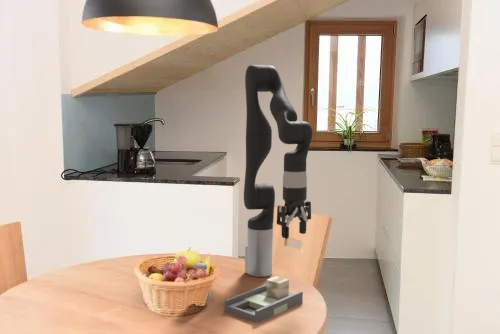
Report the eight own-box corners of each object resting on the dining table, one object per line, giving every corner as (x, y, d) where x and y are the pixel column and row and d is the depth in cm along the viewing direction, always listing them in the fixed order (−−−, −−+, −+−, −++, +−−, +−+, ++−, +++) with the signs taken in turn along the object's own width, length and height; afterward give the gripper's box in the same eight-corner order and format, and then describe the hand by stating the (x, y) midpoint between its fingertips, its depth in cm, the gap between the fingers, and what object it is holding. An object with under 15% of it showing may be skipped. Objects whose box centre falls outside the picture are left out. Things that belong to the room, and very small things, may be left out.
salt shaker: (206, 308, 165) (206, 267, 163) (188, 306, 166) (188, 265, 165) (211, 301, 171) (211, 261, 169) (193, 300, 172) (194, 260, 170)
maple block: (266, 295, 171) (266, 279, 171) (276, 291, 175) (276, 276, 175) (278, 299, 168) (279, 283, 168) (288, 294, 172) (288, 279, 171)
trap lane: (224, 311, 163) (224, 300, 163) (270, 292, 180) (270, 282, 179) (257, 323, 155) (257, 311, 154) (302, 302, 171) (302, 291, 171)
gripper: (299, 181, 178) (299, 230, 180) (270, 186, 168) (270, 237, 170) (318, 184, 173) (317, 234, 175) (289, 188, 163) (288, 241, 165)
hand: (294, 235), depth 172 cm, fingers open, 8 cm apart
